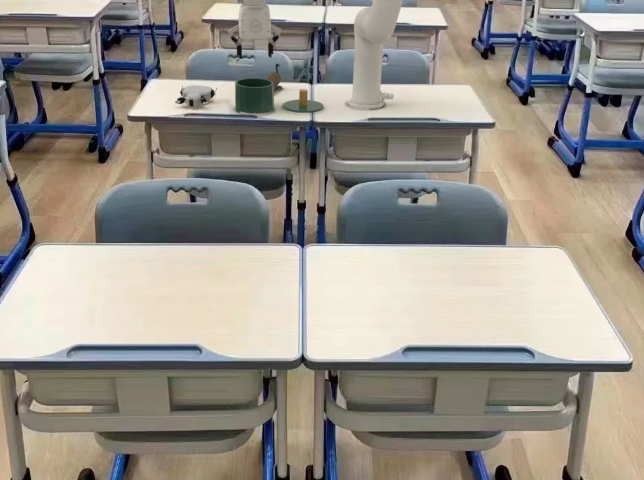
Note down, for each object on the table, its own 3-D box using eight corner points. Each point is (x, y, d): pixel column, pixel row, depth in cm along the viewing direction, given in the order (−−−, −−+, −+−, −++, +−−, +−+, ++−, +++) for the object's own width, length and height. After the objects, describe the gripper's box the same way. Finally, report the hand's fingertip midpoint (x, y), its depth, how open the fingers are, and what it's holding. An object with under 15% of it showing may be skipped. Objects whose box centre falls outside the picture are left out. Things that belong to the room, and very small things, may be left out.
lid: (319, 102, 282) (319, 84, 279) (327, 113, 270) (327, 95, 267) (279, 103, 280) (280, 85, 277) (286, 115, 268) (286, 96, 265)
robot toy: (209, 113, 270) (218, 97, 283) (208, 99, 268) (217, 84, 280) (173, 111, 271) (183, 96, 284) (172, 97, 269) (182, 83, 281)
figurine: (274, 84, 301) (274, 60, 297) (285, 85, 300) (286, 61, 296) (261, 94, 290) (261, 69, 285) (273, 95, 289) (274, 70, 284)
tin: (270, 104, 279) (270, 77, 274) (276, 114, 268) (276, 87, 263) (233, 105, 277) (233, 78, 272) (237, 115, 266) (237, 88, 261)
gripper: (227, 3, 250) (229, 60, 259) (283, 2, 253) (283, 58, 262) (225, -1, 257) (227, 55, 265) (279, -2, 259) (279, 53, 268)
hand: (255, 57), depth 264 cm, fingers open, 9 cm apart
